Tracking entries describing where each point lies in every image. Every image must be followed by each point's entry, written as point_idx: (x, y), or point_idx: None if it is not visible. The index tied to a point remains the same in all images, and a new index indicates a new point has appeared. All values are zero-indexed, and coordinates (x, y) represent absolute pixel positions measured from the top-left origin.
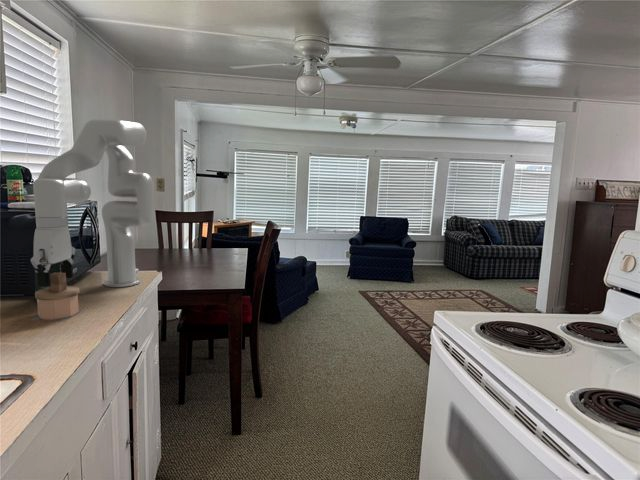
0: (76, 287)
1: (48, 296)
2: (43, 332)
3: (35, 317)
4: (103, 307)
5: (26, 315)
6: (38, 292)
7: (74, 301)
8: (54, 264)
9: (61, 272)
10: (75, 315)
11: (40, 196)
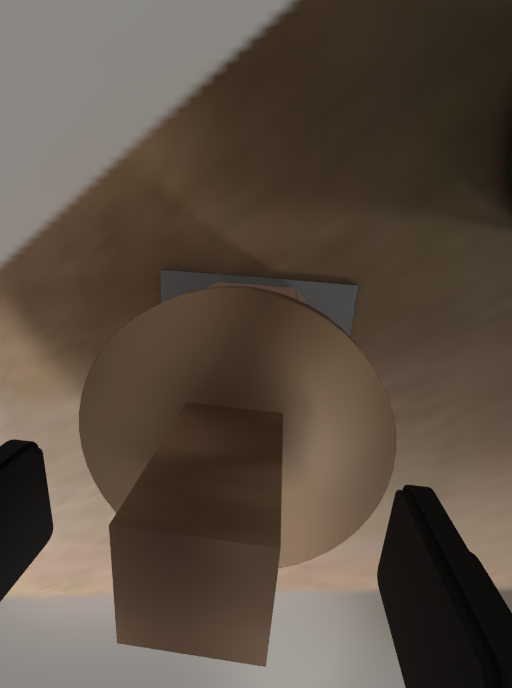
0: (332, 536)
1: (85, 454)
2: (49, 410)
3: (199, 277)
4: (384, 505)
5: (255, 185)
6: (163, 331)
7: None
8: None
9: (420, 542)
10: None
11: None
